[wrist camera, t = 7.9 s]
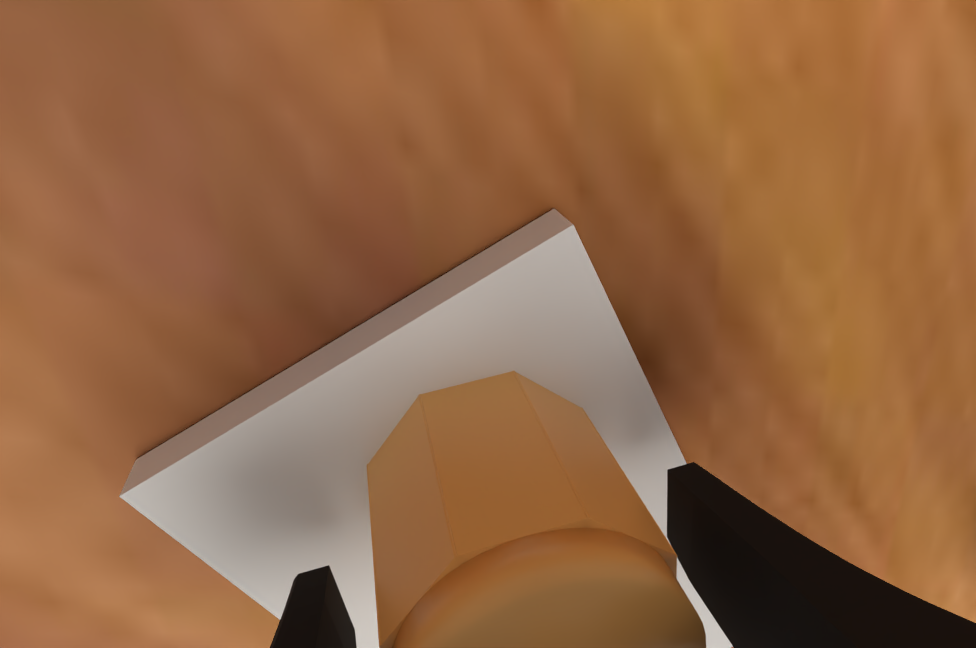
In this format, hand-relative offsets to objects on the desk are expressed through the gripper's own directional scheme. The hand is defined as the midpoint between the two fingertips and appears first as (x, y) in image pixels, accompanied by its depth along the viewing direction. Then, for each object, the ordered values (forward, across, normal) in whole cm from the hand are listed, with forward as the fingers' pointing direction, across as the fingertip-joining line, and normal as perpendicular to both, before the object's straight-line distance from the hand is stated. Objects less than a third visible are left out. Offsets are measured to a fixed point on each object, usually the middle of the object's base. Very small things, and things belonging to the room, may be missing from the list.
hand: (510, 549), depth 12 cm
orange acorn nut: (+2, 0, 0) cm, 2 cm away
